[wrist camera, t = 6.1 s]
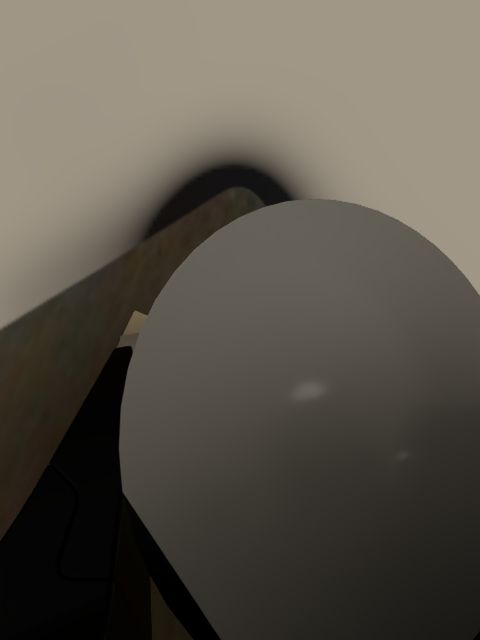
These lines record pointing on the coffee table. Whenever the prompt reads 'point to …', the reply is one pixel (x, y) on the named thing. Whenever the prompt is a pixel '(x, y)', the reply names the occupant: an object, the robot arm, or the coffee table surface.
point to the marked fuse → (309, 432)
